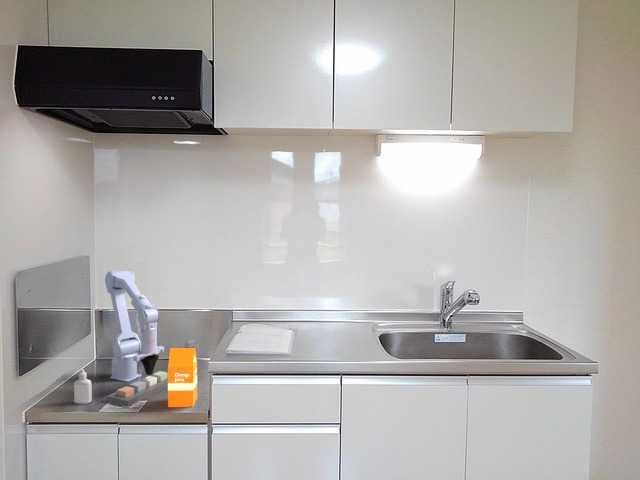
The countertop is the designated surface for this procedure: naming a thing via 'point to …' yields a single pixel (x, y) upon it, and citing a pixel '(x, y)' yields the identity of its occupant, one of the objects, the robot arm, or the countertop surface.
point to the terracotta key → (125, 392)
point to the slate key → (138, 386)
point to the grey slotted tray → (137, 394)
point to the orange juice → (182, 377)
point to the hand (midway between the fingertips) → (149, 374)
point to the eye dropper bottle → (82, 389)
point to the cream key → (150, 380)
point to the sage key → (161, 375)
